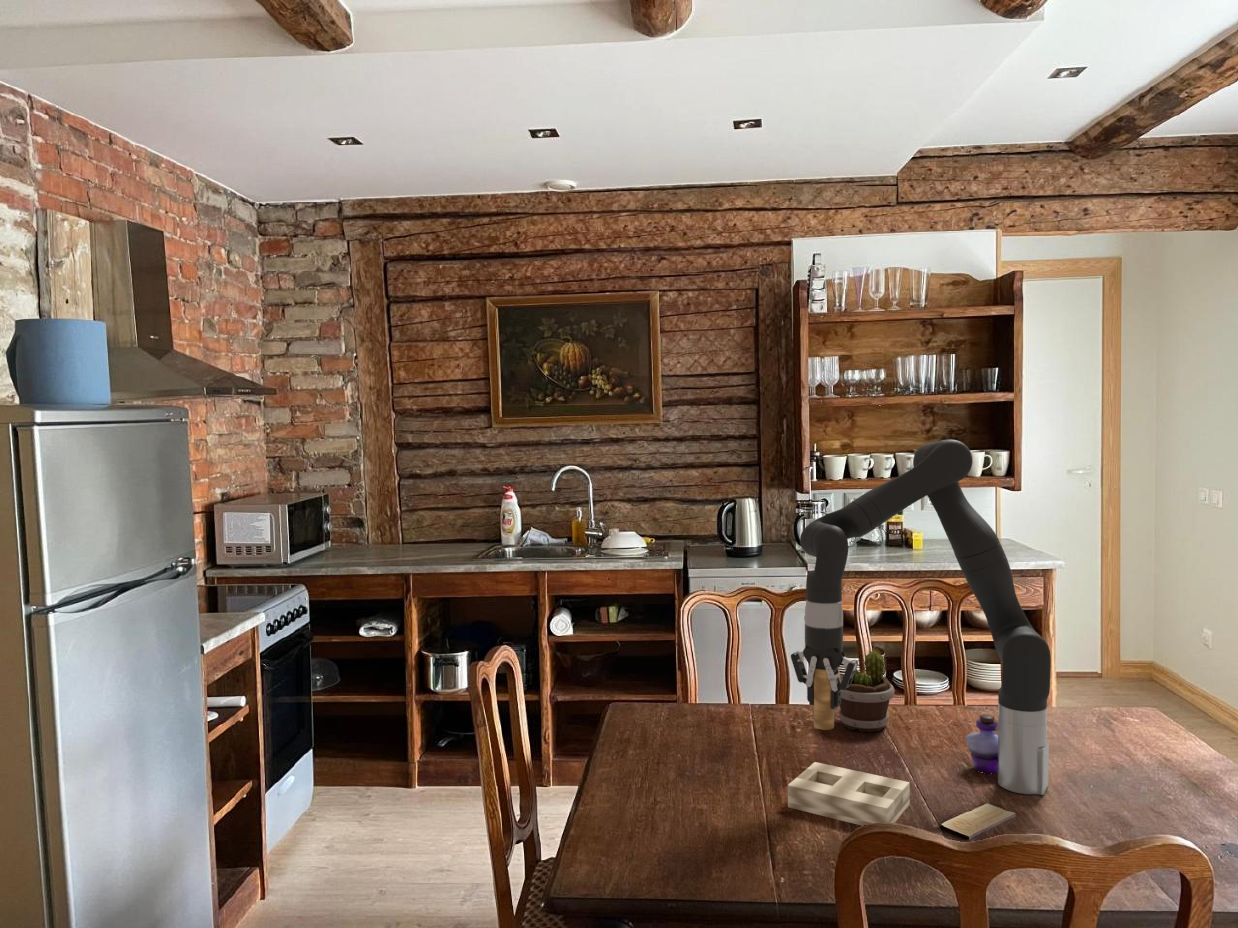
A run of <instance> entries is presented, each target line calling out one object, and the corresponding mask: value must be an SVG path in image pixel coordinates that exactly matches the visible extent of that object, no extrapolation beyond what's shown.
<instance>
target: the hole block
mask: <svg viewBox="0 0 1238 928" xmlns="http://www.w3.org/2000/svg"><path fill="white" fill-rule="evenodd" d="M910 784H911V783H910V781H905V780H900V779H895V778H892V777H891V778H890V777H886V776H881V775H877V774H874V773H873V774H872V773H867V772H864V771H858V770H854V769H849V768H845V767H841V766H840V767H839V766H836V765H831V764H825V763H821V762H816V761H814V762H813V763H812V764H811V765H809V767H807V768H806V769H805V770H803V772H801V773H800V774H799V775H798V776H796V778H794V779H793V780H792V781H791V782H789V784H787V807H788V808H790V809H795V810H798V811H802V812H805V813H806V812H807V813H809V814H814V815H817V816H818V815H819V816H822V817H826V818H830V819H834V820H838V821H842V822H845V823H851V824H855V825H858V826H862V827H865V826H864V825H867V824H874V823H894V824H895V823H896V822H897V821H898V820H899V818H900V817H901V816H902V814H903V813H904V812H905V811H906V809H907V808H908V807H909V806H910V805H911V803H910V802H911V801H910V797H911V796H910V793H911V792H910V791H911V790H910V787H911V785H910Z"/></svg>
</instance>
